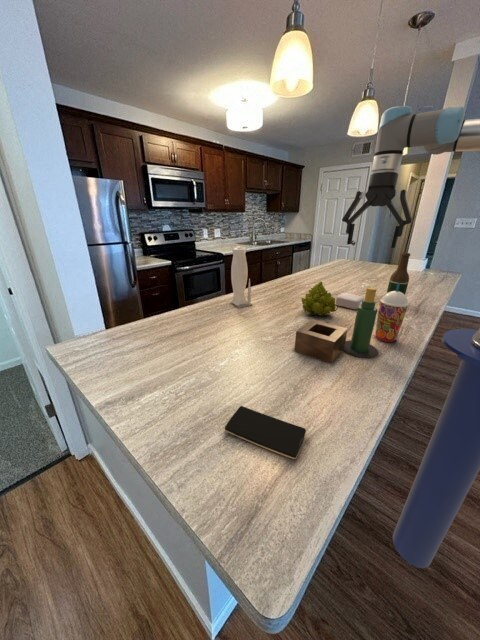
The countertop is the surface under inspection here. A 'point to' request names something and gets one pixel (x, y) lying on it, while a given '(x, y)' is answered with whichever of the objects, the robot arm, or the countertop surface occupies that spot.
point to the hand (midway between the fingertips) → (370, 245)
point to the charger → (349, 300)
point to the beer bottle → (400, 275)
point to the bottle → (364, 322)
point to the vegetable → (319, 301)
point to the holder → (320, 340)
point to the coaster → (369, 354)
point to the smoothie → (391, 315)
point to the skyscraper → (240, 277)
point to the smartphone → (266, 432)
